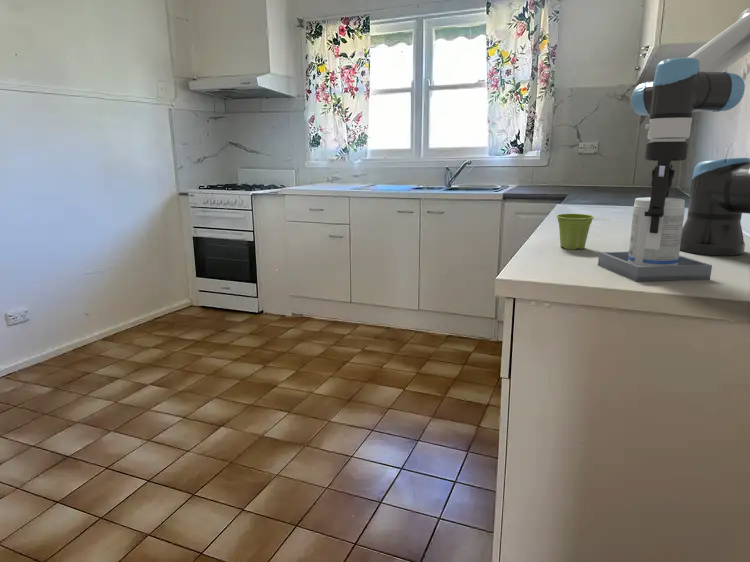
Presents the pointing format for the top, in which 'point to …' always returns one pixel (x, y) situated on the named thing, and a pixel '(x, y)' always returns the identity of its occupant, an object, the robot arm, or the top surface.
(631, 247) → the supplement tub
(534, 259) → the top surface
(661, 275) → the tray
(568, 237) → the plant pot
